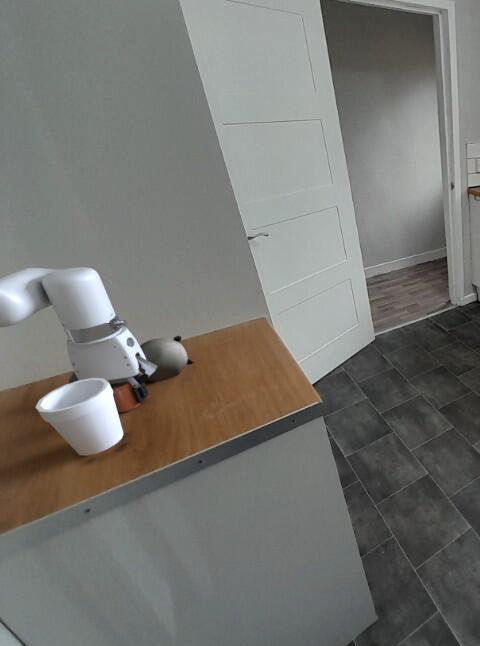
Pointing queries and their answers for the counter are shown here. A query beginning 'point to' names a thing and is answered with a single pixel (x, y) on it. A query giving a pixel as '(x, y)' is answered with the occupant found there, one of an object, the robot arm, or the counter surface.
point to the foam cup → (83, 415)
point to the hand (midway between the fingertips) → (126, 401)
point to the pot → (123, 394)
